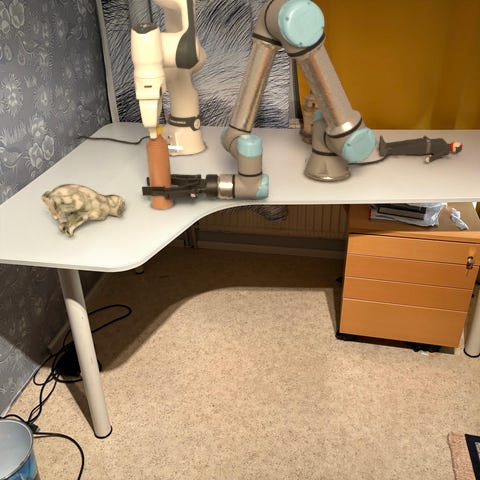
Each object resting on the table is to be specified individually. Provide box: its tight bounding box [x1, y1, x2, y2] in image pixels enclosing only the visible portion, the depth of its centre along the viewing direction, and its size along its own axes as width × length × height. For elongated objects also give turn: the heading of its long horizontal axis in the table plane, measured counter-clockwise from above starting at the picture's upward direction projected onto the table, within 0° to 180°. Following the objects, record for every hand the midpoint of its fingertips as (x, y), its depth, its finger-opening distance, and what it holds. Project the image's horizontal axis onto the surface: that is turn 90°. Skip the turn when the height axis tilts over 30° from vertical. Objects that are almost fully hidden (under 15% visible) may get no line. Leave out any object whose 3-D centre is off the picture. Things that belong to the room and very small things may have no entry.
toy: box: [378, 134, 464, 163], centre depth 203 cm, size 26×6×30 cm
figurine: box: [40, 183, 126, 238], centre depth 153 cm, size 10×19×20 cm
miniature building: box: [298, 88, 320, 144], centre depth 213 cm, size 13×14×30 cm
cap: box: [148, 123, 164, 135], centre depth 157 cm, size 4×4×2 cm
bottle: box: [145, 134, 174, 210], centre depth 163 cm, size 7×7×25 cm
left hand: (155, 133), depth 158 cm, fingers open, 6 cm apart
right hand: (144, 186), depth 166 cm, fingers closed on bottle, 7 cm apart
